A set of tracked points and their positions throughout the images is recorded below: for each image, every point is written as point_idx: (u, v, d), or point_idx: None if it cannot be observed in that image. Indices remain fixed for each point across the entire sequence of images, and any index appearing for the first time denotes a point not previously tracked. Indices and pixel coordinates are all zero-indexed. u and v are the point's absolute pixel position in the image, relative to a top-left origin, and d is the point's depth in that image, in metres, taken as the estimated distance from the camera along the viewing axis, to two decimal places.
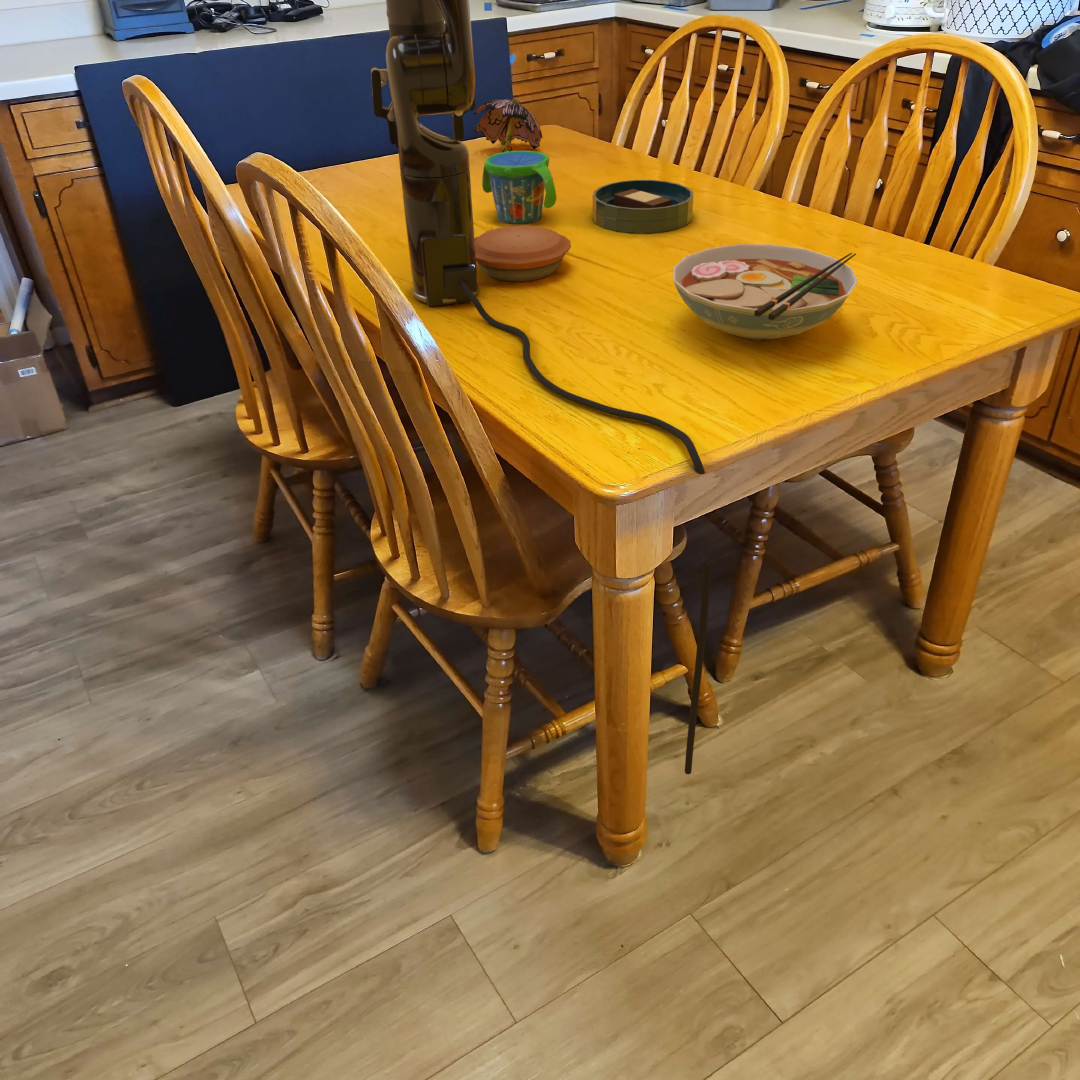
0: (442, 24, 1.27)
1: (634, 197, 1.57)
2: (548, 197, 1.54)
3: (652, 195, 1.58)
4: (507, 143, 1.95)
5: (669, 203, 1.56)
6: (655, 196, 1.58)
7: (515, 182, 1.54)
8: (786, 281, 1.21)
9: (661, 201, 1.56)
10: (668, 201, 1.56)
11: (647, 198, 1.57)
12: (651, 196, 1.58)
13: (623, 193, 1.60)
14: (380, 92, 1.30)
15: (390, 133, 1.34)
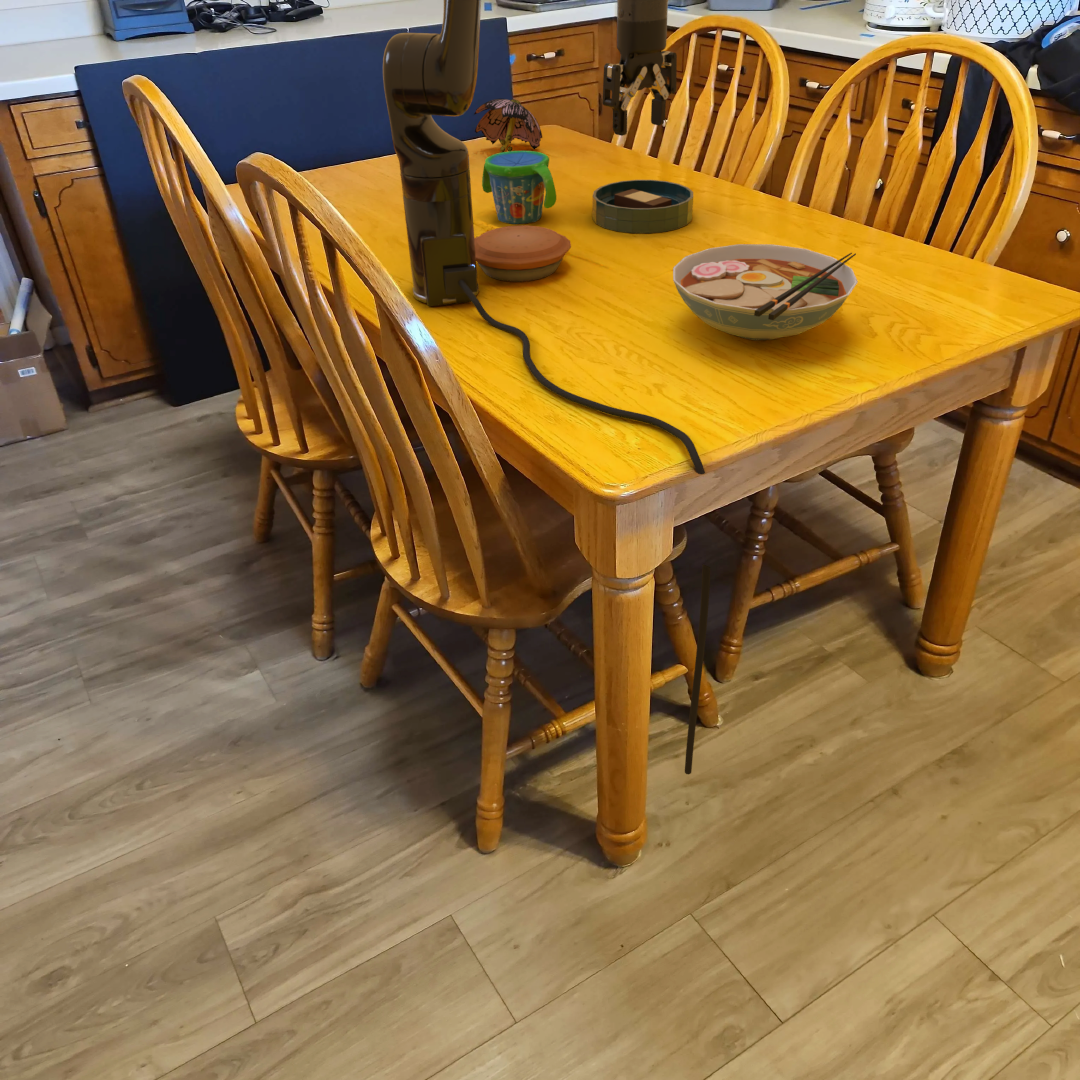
0: None
1: (634, 197, 1.57)
2: (548, 197, 1.54)
3: (652, 195, 1.58)
4: (507, 143, 1.95)
5: (669, 203, 1.56)
6: (655, 196, 1.58)
7: (515, 182, 1.54)
8: (786, 281, 1.21)
9: (661, 201, 1.56)
10: (668, 201, 1.56)
11: (647, 198, 1.57)
12: (651, 196, 1.58)
13: (623, 193, 1.60)
14: (619, 85, 1.43)
15: (619, 122, 1.47)
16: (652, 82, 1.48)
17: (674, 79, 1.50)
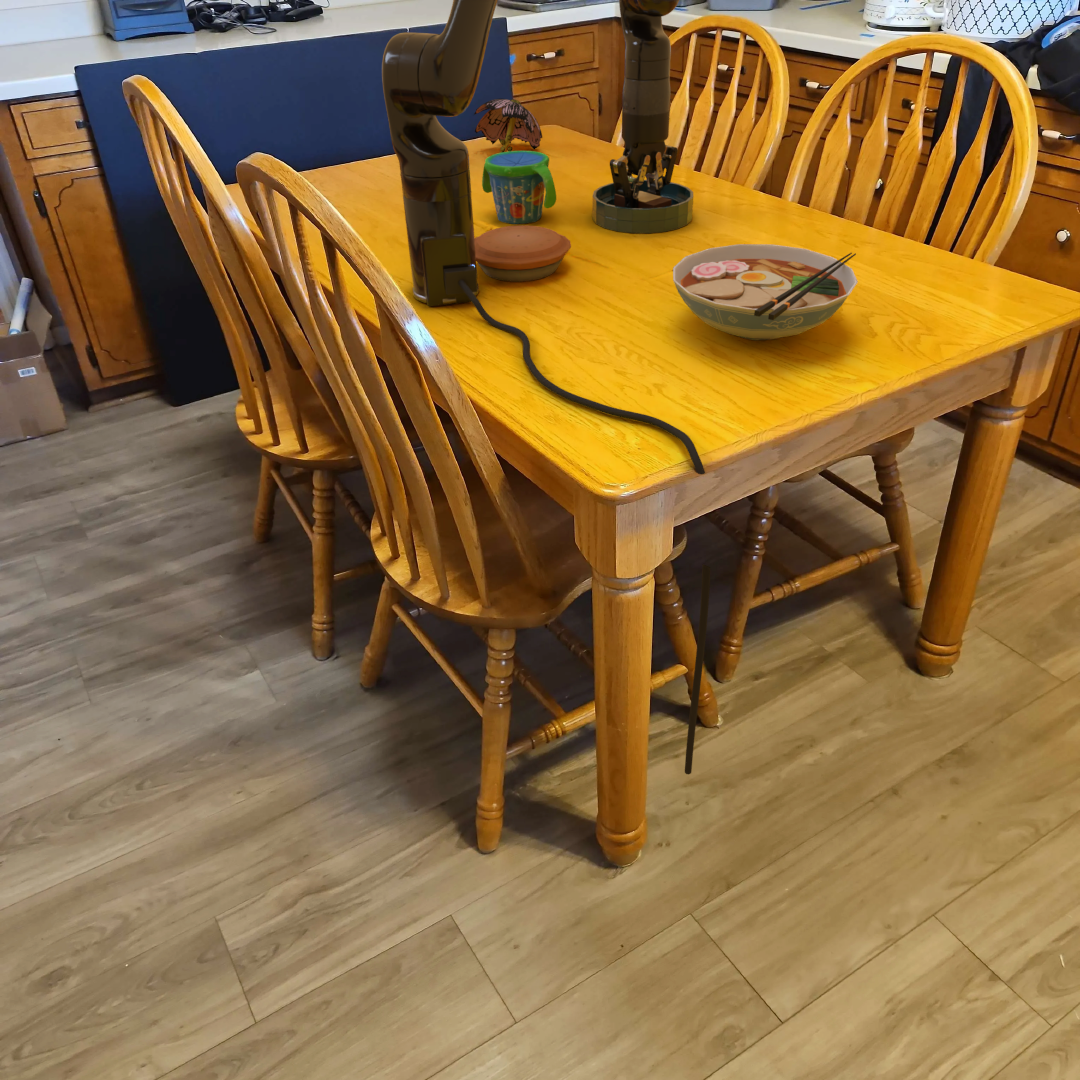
0: None
1: None
2: (548, 197, 1.54)
3: (652, 195, 1.58)
4: (507, 143, 1.95)
5: (669, 203, 1.56)
6: (655, 196, 1.58)
7: (515, 182, 1.54)
8: (786, 281, 1.21)
9: (661, 201, 1.56)
10: (668, 201, 1.56)
11: (647, 198, 1.57)
12: (651, 196, 1.58)
13: None
14: (627, 177, 1.52)
15: None
16: (652, 169, 1.55)
17: (670, 172, 1.58)
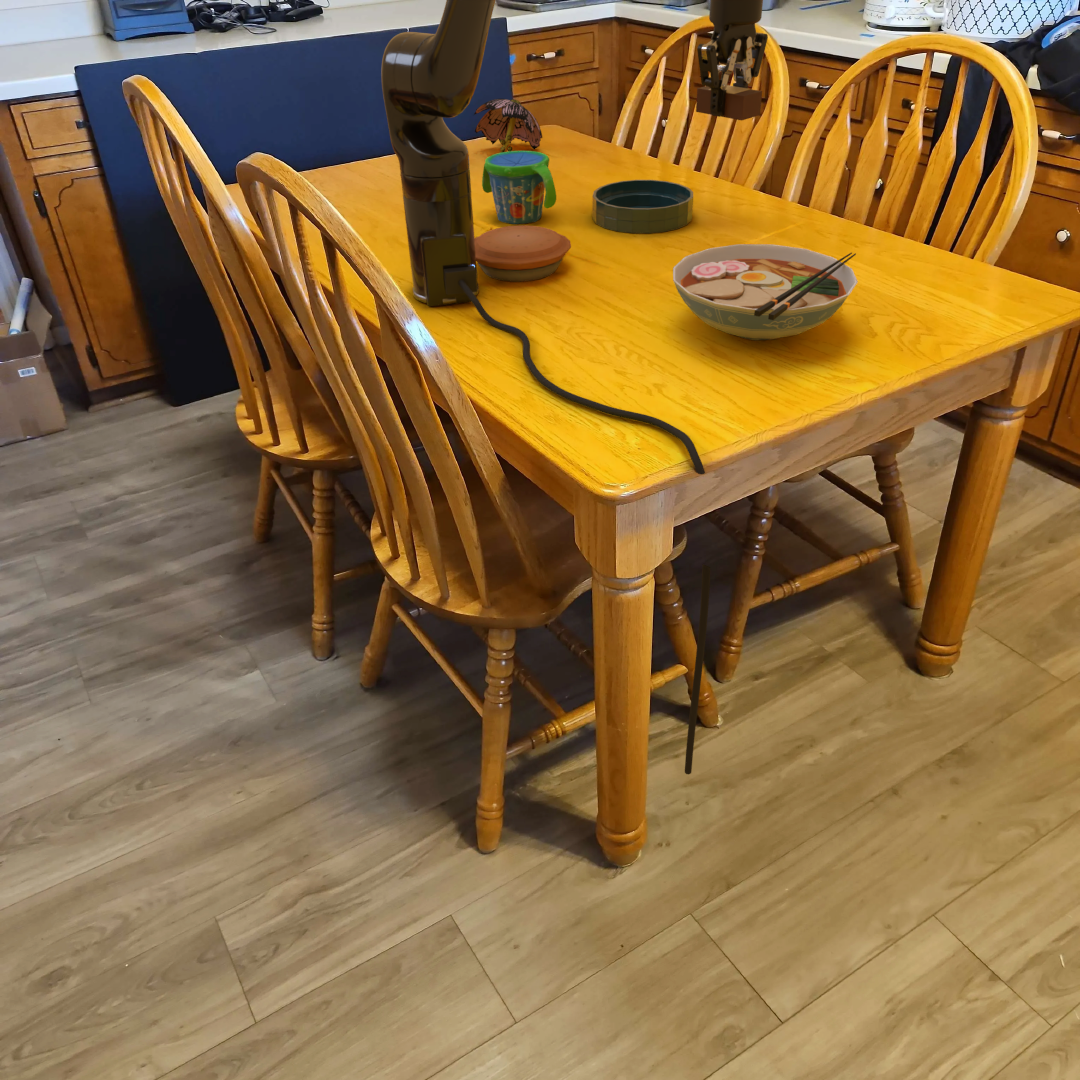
0: None
1: None
2: (548, 197, 1.54)
3: (739, 88, 1.44)
4: (507, 143, 1.95)
5: (759, 95, 1.43)
6: (743, 88, 1.44)
7: (515, 182, 1.54)
8: (786, 281, 1.21)
9: (752, 92, 1.42)
10: (758, 93, 1.42)
11: (735, 90, 1.43)
12: (738, 88, 1.44)
13: (706, 87, 1.46)
14: (716, 64, 1.38)
15: (718, 102, 1.43)
16: (741, 57, 1.41)
17: (759, 62, 1.44)
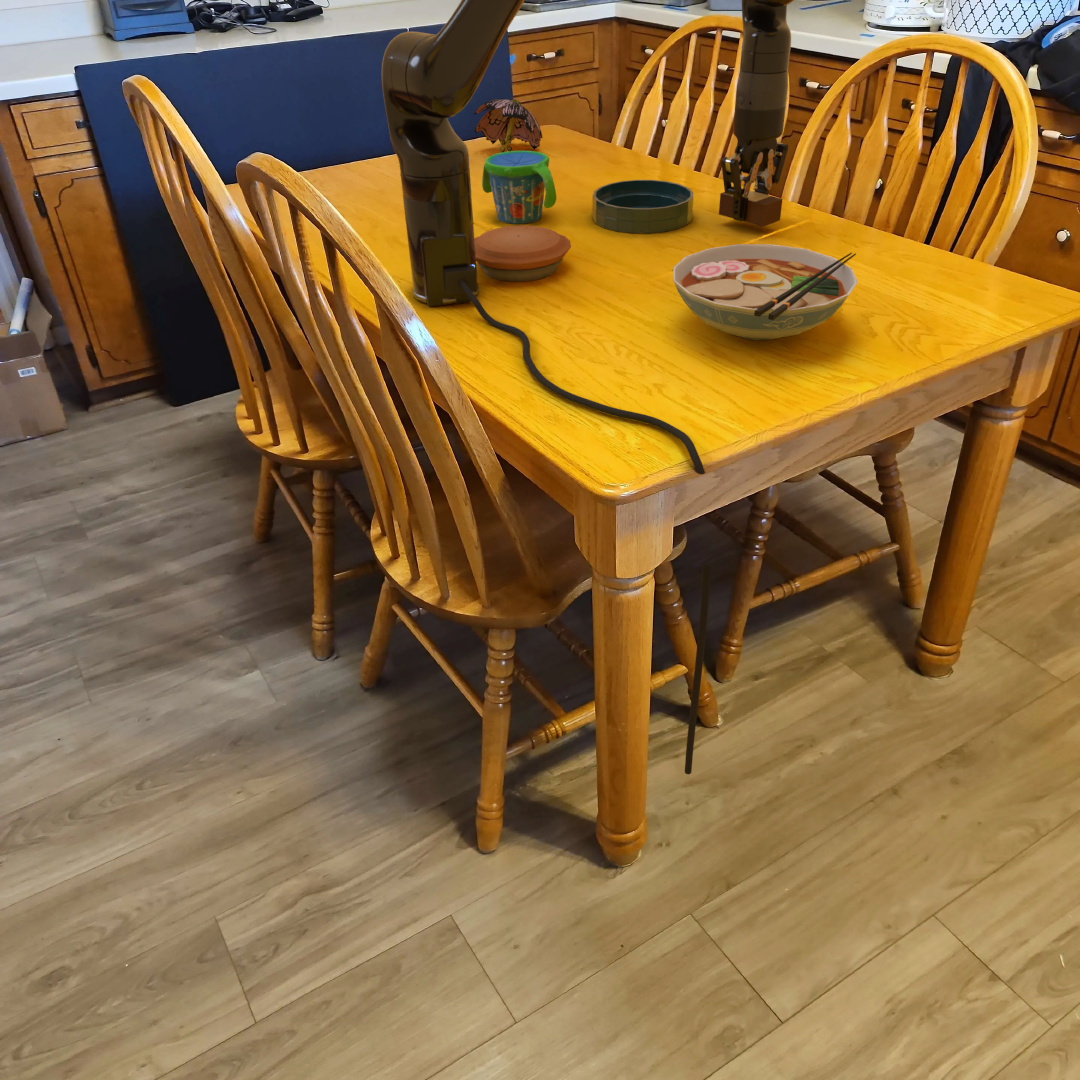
0: None
1: None
2: (548, 197, 1.54)
3: (761, 194, 1.51)
4: (507, 143, 1.95)
5: (780, 202, 1.49)
6: (764, 195, 1.51)
7: (515, 182, 1.54)
8: (786, 281, 1.21)
9: (772, 200, 1.49)
10: (779, 200, 1.49)
11: (756, 197, 1.50)
12: (760, 195, 1.51)
13: None
14: (739, 175, 1.45)
15: (740, 209, 1.50)
16: (763, 167, 1.48)
17: (780, 170, 1.51)
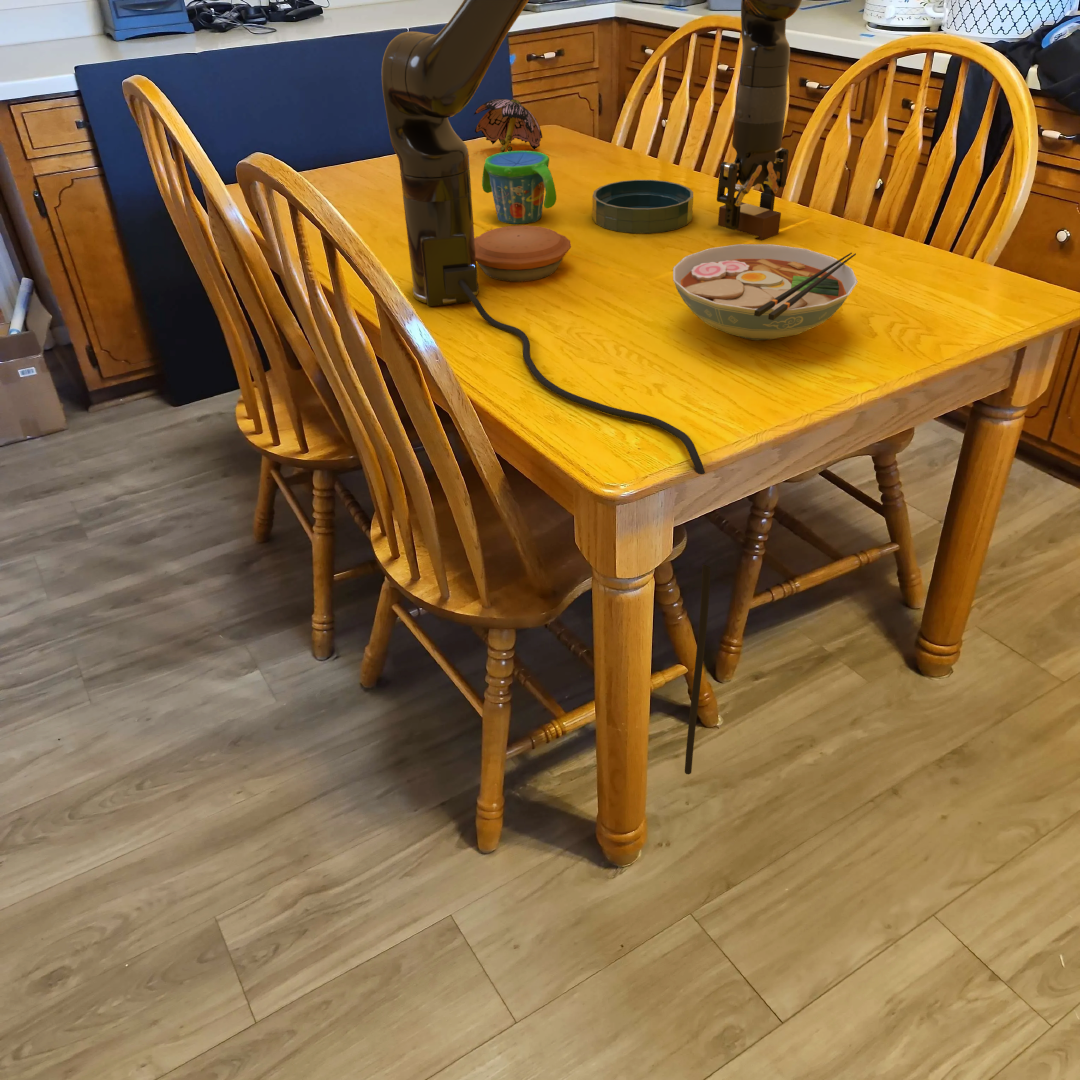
0: None
1: (741, 210, 1.52)
2: (548, 197, 1.54)
3: (759, 208, 1.53)
4: (507, 143, 1.95)
5: (778, 216, 1.51)
6: (763, 209, 1.52)
7: (515, 182, 1.54)
8: (786, 281, 1.21)
9: (771, 214, 1.50)
10: (777, 214, 1.50)
11: (755, 211, 1.51)
12: (758, 209, 1.52)
13: None
14: (735, 183, 1.45)
15: (732, 217, 1.49)
16: (764, 178, 1.50)
17: (784, 174, 1.52)
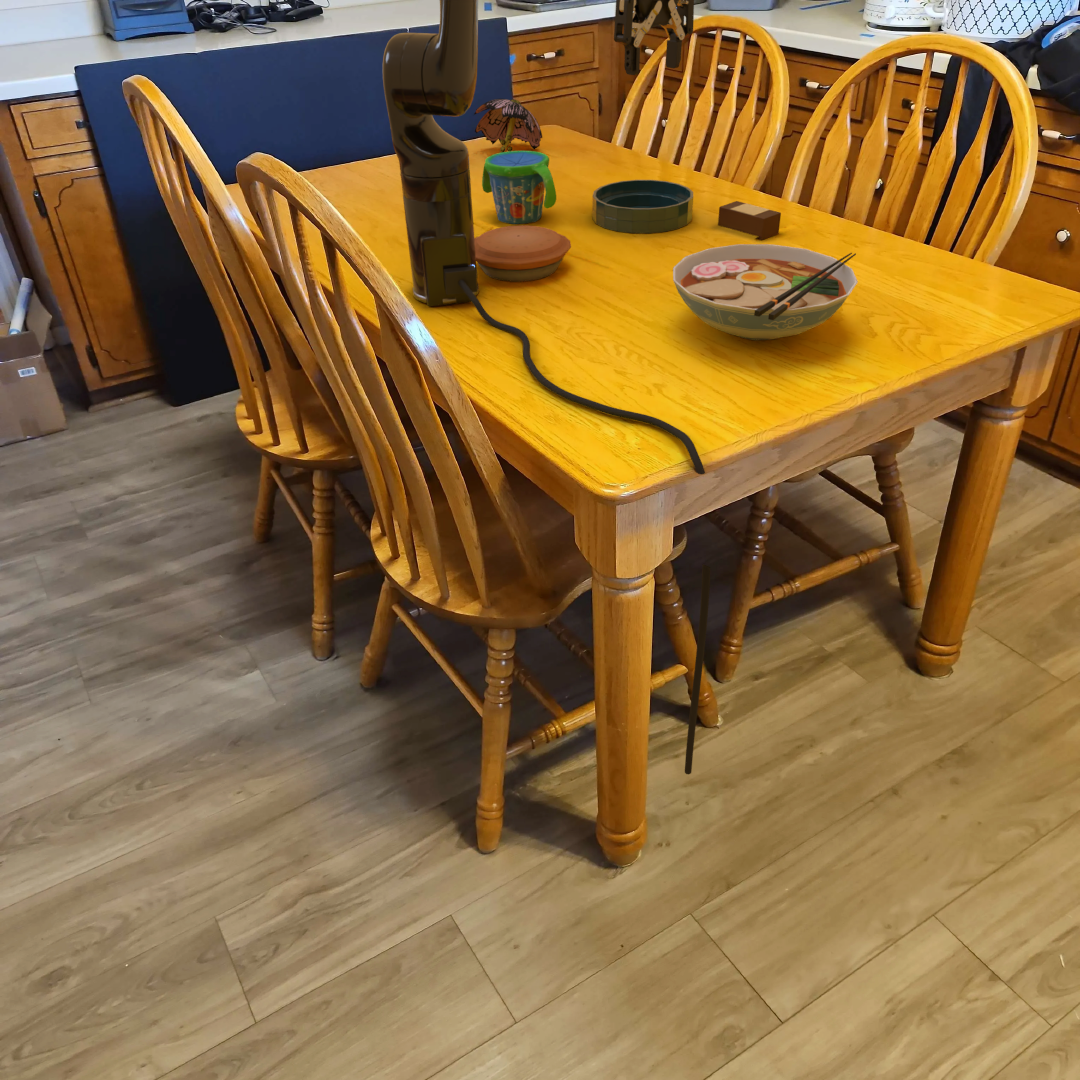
0: None
1: (741, 210, 1.52)
2: (548, 197, 1.54)
3: (759, 208, 1.53)
4: (507, 143, 1.95)
5: (778, 216, 1.51)
6: (763, 209, 1.52)
7: (515, 182, 1.54)
8: (786, 281, 1.21)
9: (771, 214, 1.50)
10: (777, 214, 1.50)
11: (755, 211, 1.51)
12: (758, 209, 1.52)
13: (728, 206, 1.54)
14: (631, 18, 1.36)
15: (631, 60, 1.40)
16: (667, 19, 1.40)
17: (691, 19, 1.43)
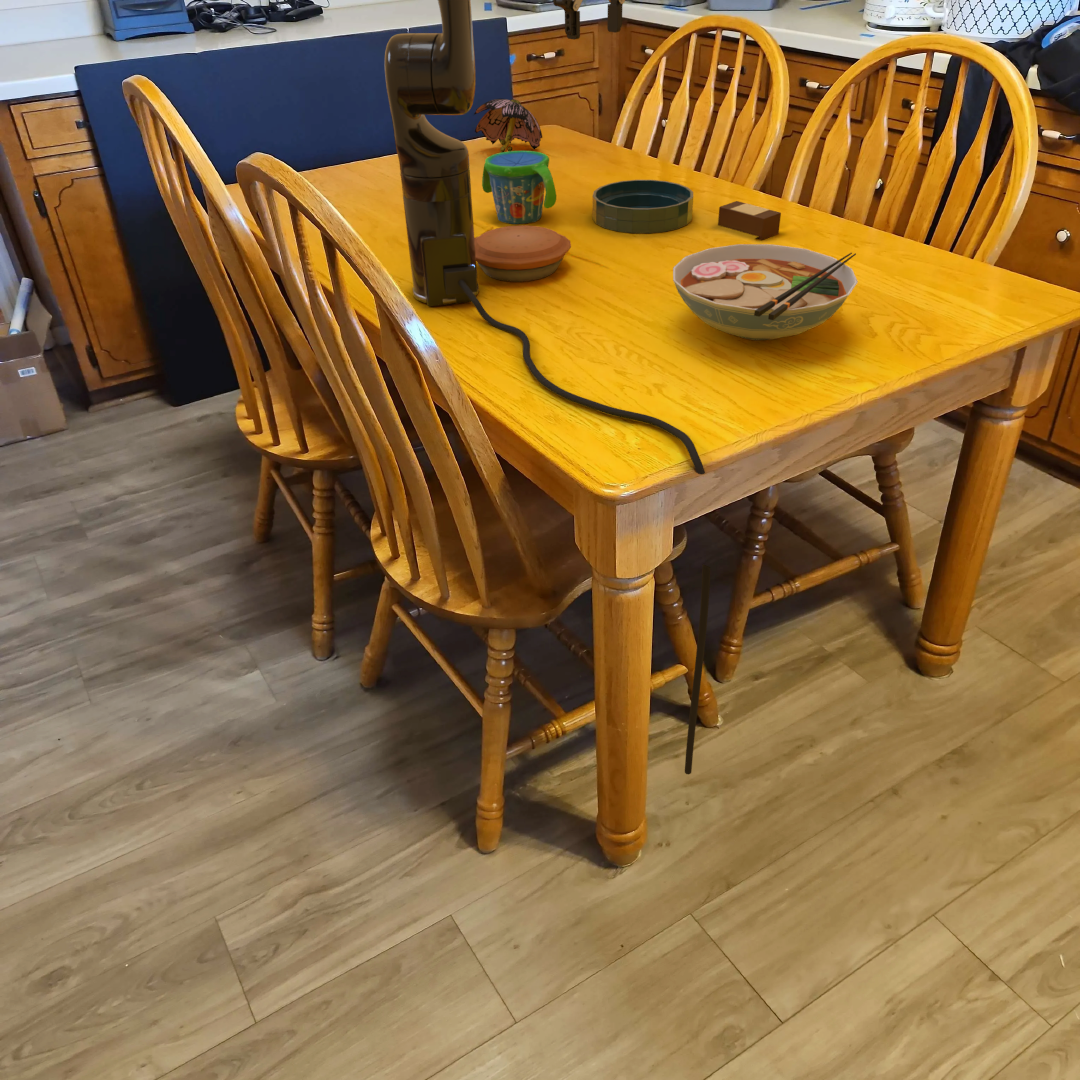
0: None
1: (741, 210, 1.52)
2: (548, 197, 1.54)
3: (759, 208, 1.53)
4: (507, 143, 1.95)
5: (778, 216, 1.51)
6: (763, 209, 1.52)
7: (515, 182, 1.54)
8: (786, 281, 1.21)
9: (771, 214, 1.50)
10: (777, 214, 1.50)
11: (755, 211, 1.51)
12: (758, 209, 1.52)
13: (728, 205, 1.54)
14: None
15: (571, 24, 1.40)
16: None
17: None
